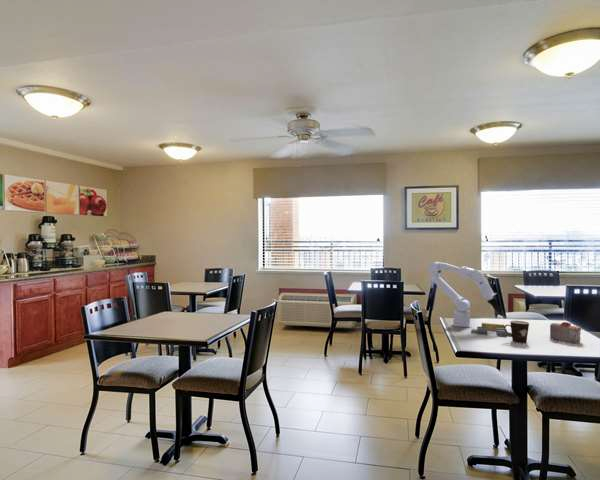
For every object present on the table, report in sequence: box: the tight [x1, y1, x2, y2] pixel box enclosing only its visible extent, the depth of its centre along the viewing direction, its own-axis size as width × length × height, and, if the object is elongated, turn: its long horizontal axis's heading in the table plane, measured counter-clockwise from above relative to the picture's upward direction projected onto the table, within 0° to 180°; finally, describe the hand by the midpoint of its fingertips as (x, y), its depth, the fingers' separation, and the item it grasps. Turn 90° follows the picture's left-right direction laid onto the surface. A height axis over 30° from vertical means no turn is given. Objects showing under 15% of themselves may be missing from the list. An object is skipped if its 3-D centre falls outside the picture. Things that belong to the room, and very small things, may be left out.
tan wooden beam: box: [481, 321, 506, 332], centre depth 235 cm, size 12×2×4 cm, turn 67°
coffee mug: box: [504, 320, 530, 344], centre depth 210 cm, size 12×9×10 cm
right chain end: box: [495, 328, 512, 337], centre depth 222 cm, size 8×6×3 cm
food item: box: [549, 321, 582, 344], centre depth 211 cm, size 14×8×10 cm, turn 41°
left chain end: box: [471, 326, 488, 336], centre depth 227 cm, size 8×6×3 cm
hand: (498, 310), depth 235 cm, fingers open, 7 cm apart
